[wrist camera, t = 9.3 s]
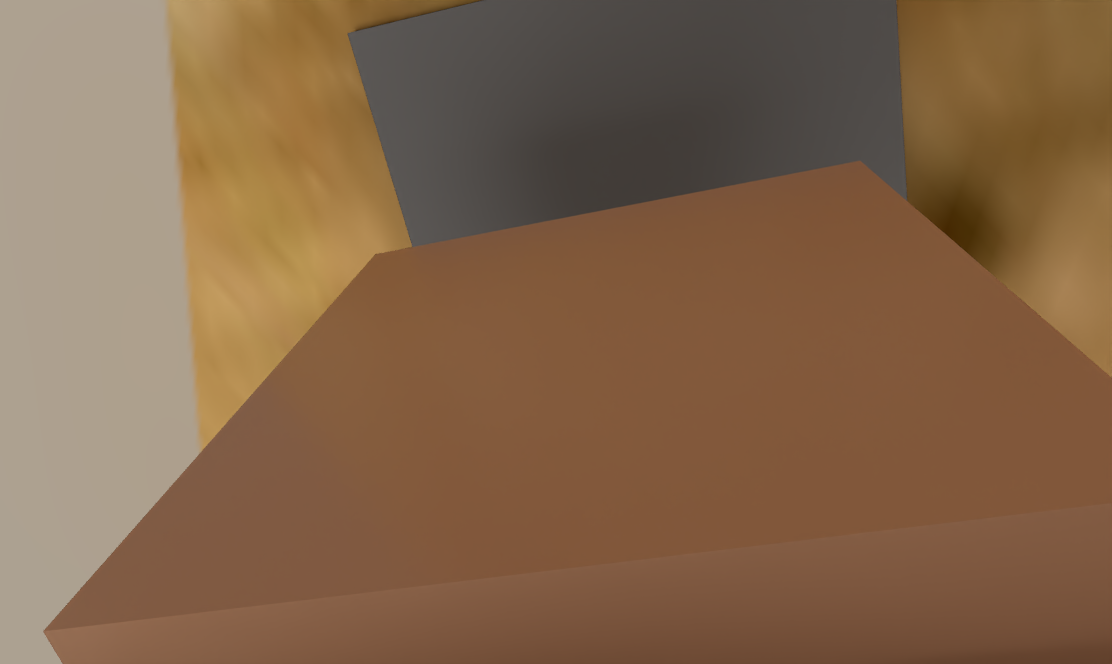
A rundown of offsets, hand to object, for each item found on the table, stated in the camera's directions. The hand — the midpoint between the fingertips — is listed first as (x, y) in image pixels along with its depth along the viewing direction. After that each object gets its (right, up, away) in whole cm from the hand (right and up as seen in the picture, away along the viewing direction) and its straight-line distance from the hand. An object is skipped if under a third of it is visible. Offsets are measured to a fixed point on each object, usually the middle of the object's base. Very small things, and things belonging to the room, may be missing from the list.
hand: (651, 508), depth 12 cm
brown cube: (0, +1, +2) cm, 2 cm away
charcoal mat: (+1, +6, +12) cm, 14 cm away
